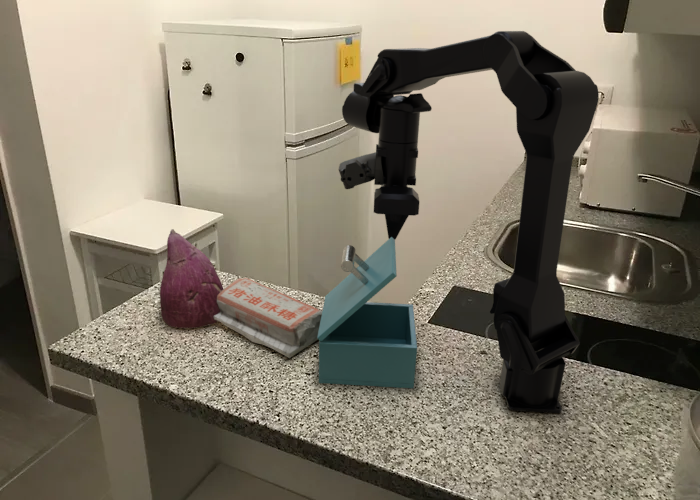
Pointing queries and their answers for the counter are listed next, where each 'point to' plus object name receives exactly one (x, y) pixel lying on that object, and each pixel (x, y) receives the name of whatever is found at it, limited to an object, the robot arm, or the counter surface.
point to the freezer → (371, 348)
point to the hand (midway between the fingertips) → (392, 238)
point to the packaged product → (268, 316)
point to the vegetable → (188, 286)
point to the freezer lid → (357, 285)
